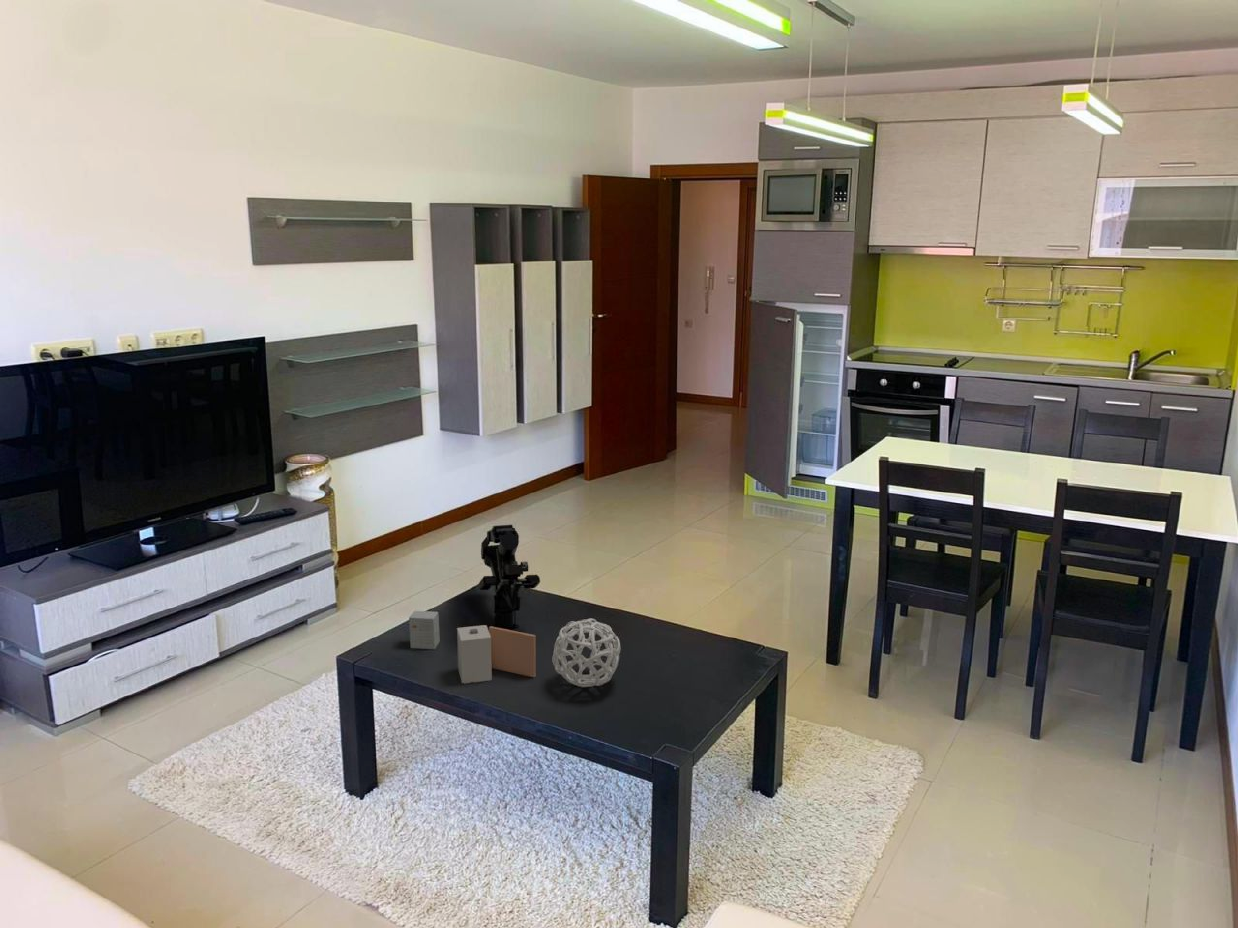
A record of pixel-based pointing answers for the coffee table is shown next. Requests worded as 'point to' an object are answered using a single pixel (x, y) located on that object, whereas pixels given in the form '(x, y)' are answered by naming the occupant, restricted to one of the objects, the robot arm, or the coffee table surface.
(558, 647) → the decorative ball
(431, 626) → the small box
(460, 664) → the beige rectangular box
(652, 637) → the coffee table surface
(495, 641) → the side door
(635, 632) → the coffee table surface
